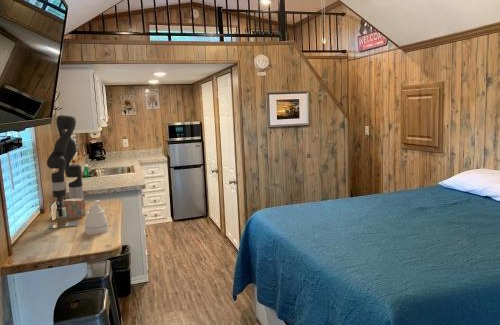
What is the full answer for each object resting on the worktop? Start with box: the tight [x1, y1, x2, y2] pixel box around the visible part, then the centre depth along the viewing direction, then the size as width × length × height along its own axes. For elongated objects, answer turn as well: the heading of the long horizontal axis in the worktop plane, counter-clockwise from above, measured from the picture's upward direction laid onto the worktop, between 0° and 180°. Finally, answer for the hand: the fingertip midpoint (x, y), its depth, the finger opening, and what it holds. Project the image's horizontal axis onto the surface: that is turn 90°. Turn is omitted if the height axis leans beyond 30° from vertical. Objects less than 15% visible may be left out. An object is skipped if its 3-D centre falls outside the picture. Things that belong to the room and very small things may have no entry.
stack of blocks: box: [49, 198, 87, 219], centre depth 267 cm, size 21×6×12 cm, turn 88°
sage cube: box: [55, 207, 66, 219], centre depth 246 cm, size 5×5×5 cm
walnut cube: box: [55, 217, 68, 226], centre depth 247 cm, size 5×5×5 cm
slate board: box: [48, 220, 79, 230], centre depth 247 cm, size 10×16×1 cm, turn 108°
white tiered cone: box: [84, 199, 109, 235], centre depth 234 cm, size 13×13×18 cm
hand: (61, 215), depth 246 cm, fingers closed on sage cube, 5 cm apart
